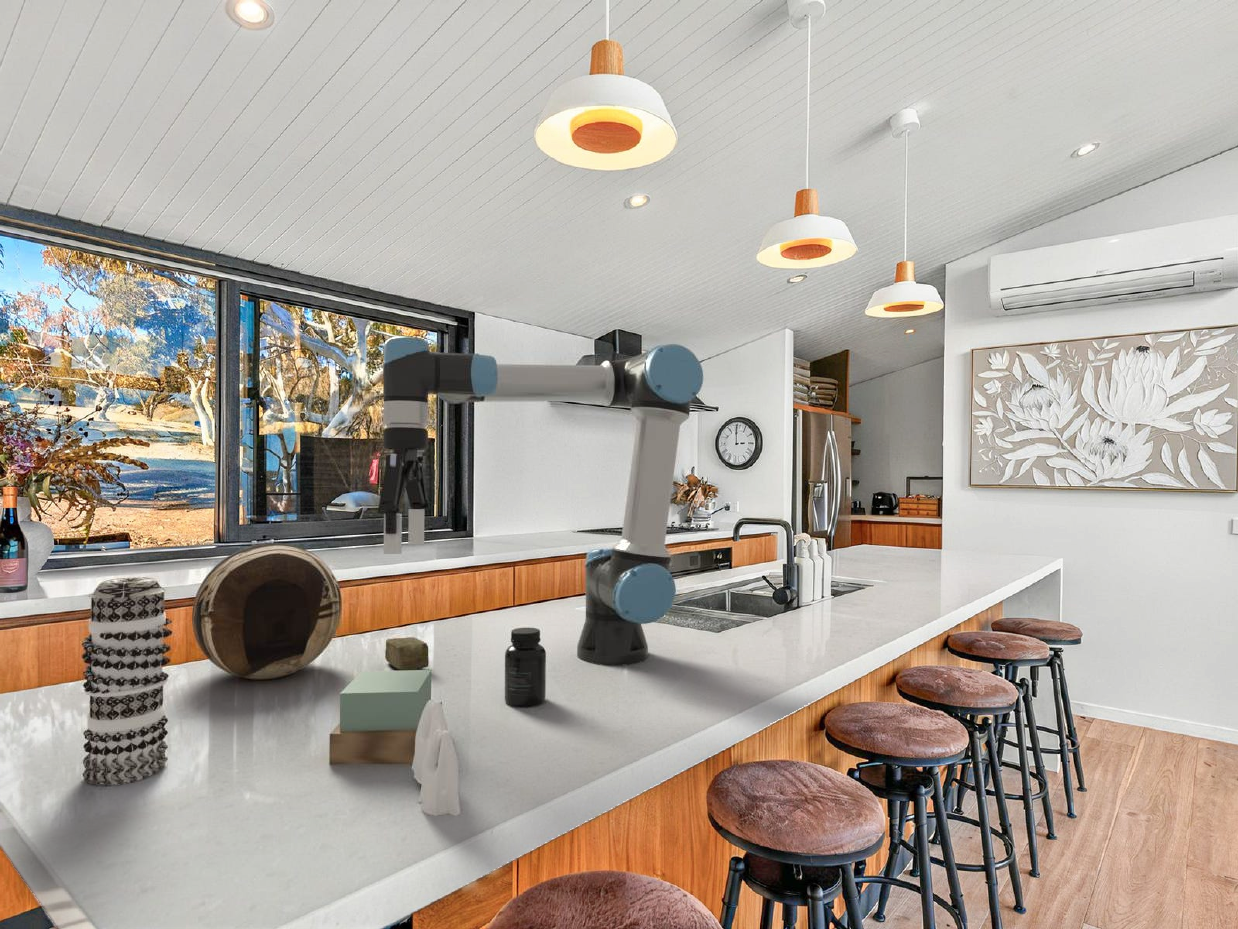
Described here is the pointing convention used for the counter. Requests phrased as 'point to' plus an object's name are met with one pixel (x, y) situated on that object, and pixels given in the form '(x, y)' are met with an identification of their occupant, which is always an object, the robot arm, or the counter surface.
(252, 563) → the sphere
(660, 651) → the counter surface
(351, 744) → the walnut base block
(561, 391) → the robot arm
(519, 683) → the supplement bottle
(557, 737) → the counter surface
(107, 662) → the decorative candle
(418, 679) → the sage top block
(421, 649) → the stone block
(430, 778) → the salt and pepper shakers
